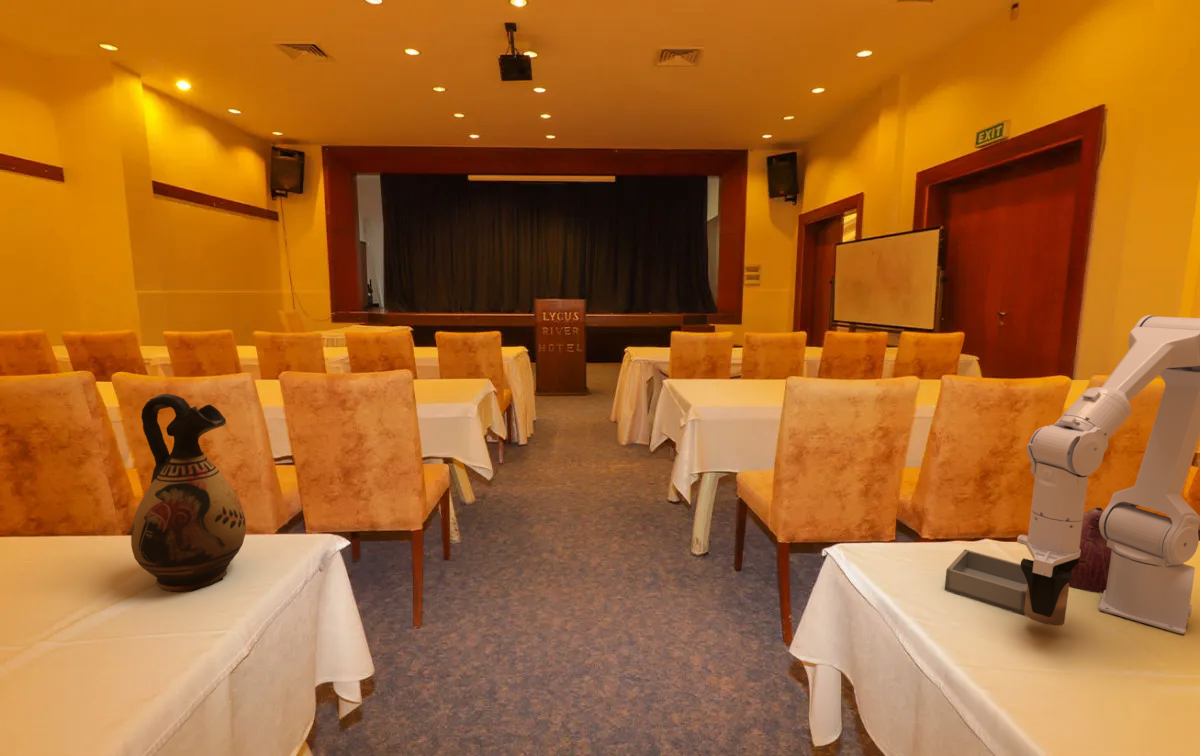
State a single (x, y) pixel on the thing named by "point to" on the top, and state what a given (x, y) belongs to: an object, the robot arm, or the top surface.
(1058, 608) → the walnut cylinder
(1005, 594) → the grey bin
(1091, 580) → the vegetable
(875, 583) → the top surface
